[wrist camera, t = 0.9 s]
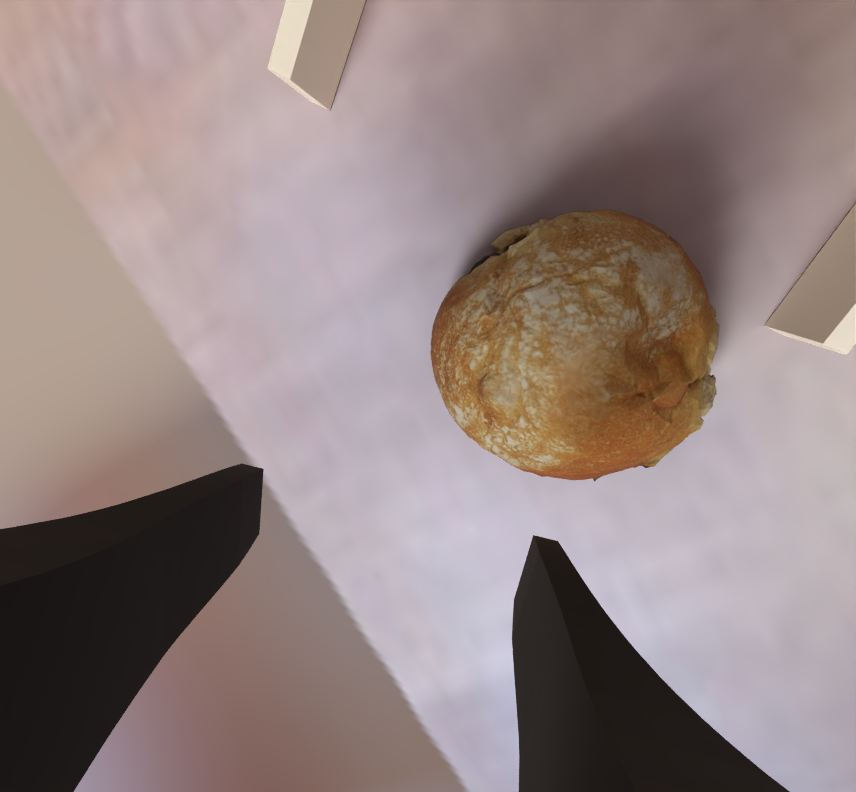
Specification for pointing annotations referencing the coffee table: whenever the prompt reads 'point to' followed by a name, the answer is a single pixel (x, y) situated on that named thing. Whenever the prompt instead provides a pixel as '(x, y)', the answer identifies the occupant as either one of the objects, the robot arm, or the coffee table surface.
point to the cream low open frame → (795, 317)
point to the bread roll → (578, 346)
